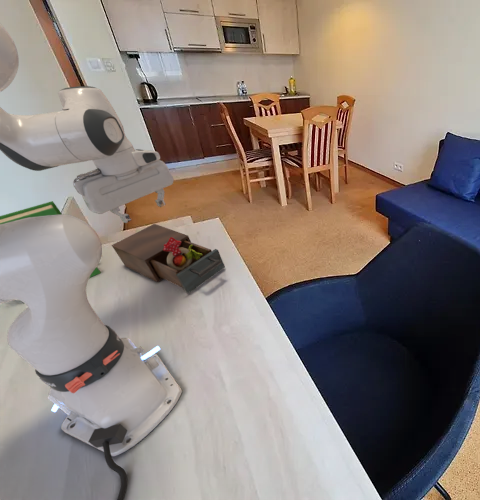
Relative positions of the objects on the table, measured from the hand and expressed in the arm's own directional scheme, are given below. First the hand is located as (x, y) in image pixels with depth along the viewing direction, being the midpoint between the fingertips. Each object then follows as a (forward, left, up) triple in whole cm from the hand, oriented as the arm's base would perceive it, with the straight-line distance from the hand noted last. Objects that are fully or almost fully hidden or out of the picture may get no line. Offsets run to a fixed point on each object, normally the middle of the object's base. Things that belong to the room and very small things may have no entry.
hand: (145, 213), depth 80 cm
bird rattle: (-1, -5, -20) cm, 21 cm away
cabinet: (+15, -3, -23) cm, 28 cm away
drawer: (-3, -3, -22) cm, 22 cm away
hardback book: (+35, +18, -23) cm, 45 cm away
